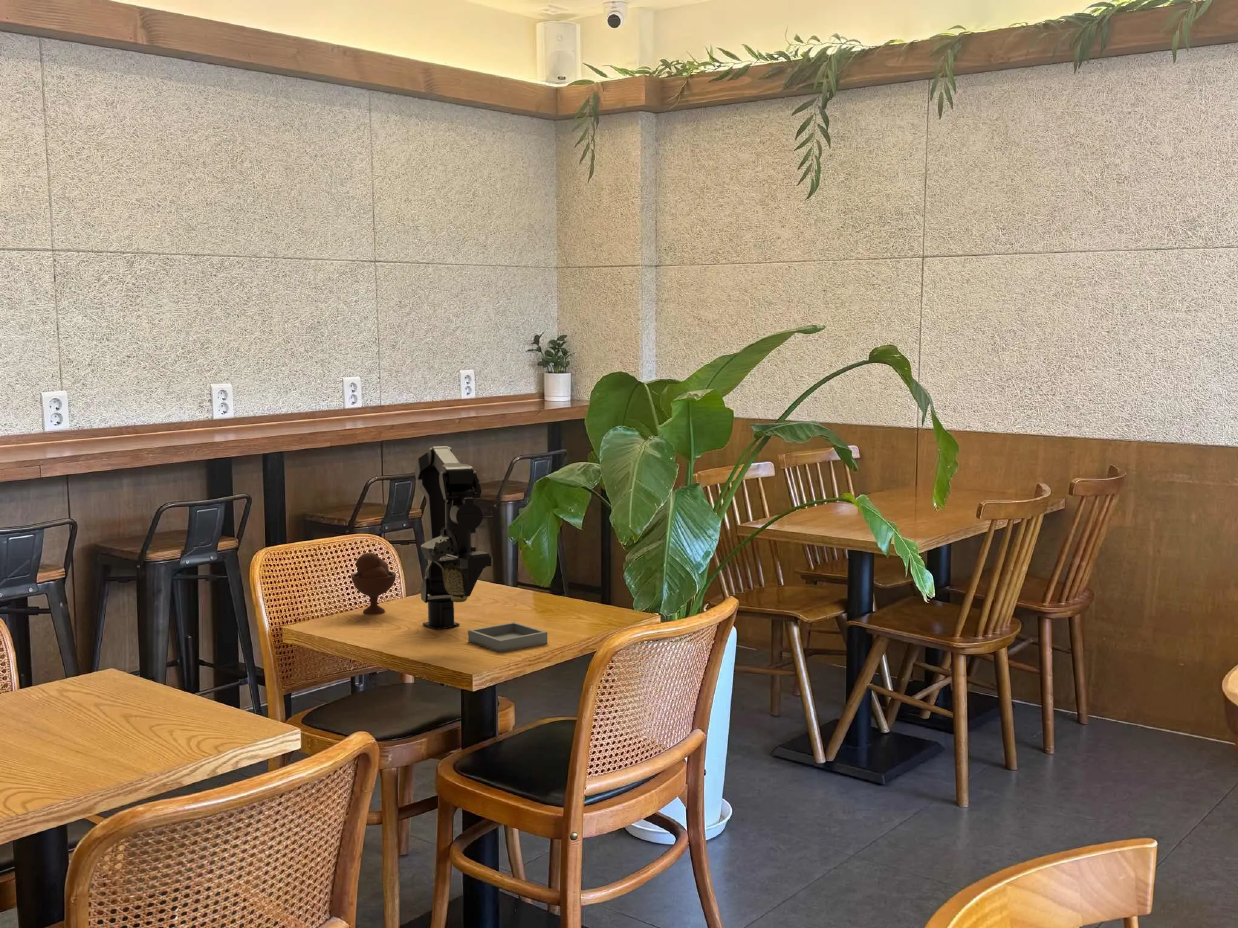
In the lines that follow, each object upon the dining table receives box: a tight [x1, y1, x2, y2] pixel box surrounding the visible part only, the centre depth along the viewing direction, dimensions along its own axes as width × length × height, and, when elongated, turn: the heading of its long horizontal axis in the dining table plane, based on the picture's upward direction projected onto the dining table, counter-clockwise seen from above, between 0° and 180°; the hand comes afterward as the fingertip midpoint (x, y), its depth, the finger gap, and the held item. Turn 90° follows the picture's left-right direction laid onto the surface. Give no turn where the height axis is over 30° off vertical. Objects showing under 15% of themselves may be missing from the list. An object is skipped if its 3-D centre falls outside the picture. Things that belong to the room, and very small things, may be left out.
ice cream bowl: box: [350, 552, 397, 616], centre depth 303 cm, size 11×11×15 cm
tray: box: [467, 621, 548, 653], centre depth 273 cm, size 13×13×2 cm
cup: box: [442, 563, 468, 603], centre depth 270 cm, size 8×7×8 cm
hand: (459, 593), depth 270 cm, fingers closed on cup, 6 cm apart
